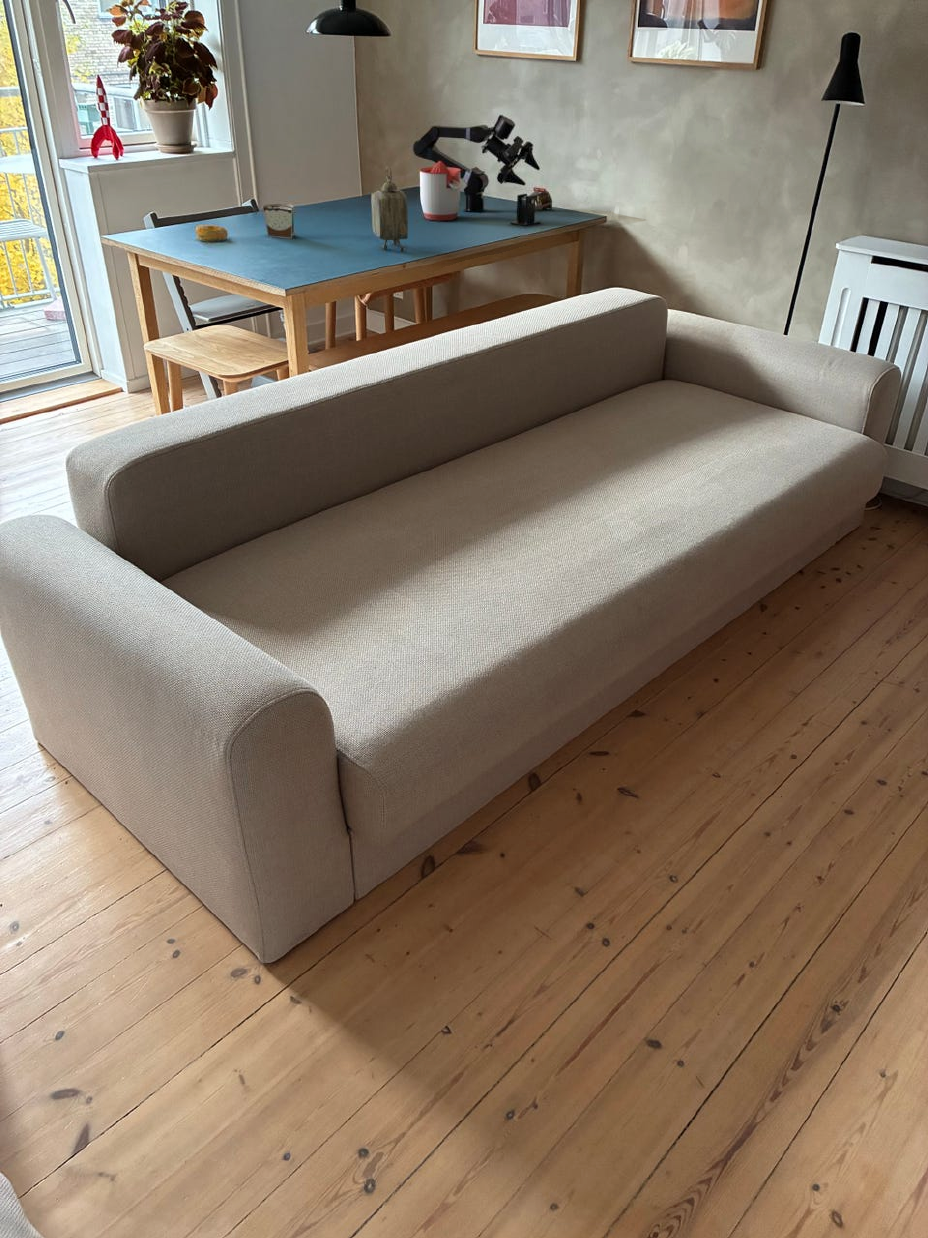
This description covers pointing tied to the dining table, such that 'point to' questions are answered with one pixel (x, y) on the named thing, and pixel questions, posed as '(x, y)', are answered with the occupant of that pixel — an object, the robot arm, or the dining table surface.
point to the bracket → (525, 211)
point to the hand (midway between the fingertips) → (532, 176)
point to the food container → (279, 220)
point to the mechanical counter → (543, 201)
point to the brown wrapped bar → (537, 190)
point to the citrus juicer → (440, 192)
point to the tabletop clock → (390, 213)
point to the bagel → (211, 233)
